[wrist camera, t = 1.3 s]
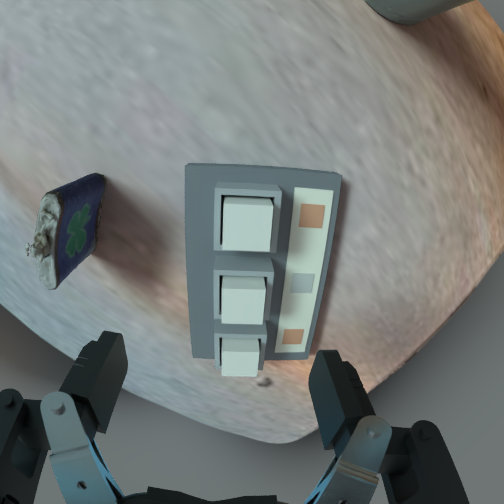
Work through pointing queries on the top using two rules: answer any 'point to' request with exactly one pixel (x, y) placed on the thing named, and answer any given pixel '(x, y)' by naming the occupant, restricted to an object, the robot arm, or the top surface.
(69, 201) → the flask
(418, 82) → the top surface
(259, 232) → the button
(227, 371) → the button
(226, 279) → the button middle
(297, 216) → the board
